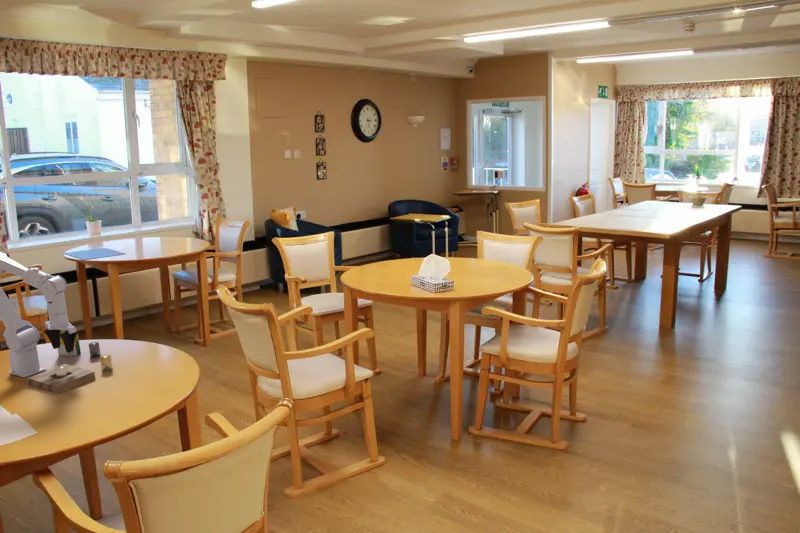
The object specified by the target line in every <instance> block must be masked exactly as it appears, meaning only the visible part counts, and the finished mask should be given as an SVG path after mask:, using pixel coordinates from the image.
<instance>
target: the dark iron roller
mask: <svg viewBox="0 0 800 533" xmlns="http://www.w3.org/2000/svg"><path fill="white" fill-rule="evenodd" d="M88 348H89V349H88V350H89V356H90V358H91V359H97V358H100V357H101V356H102V355H101V354H102V353H101V348H100V342H98V341H92V342H89V343H88Z"/></svg>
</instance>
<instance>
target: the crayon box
mask: <svg viewBox="0 0 800 533" xmlns="http://www.w3.org/2000/svg"><path fill="white" fill-rule="evenodd" d="M75 330H76V331H78V328H75ZM62 333H65V331H62V330H61V332H60V334H62ZM57 352H58V356H59V357H62V356H78V355H80V354H81V353H82V352H81V346H80V338H79V333H78V334H77V336H76V338H75V342H74V349H73V351H71V352H69V353H67V352H66V349H65V345H64V342H63V340H62V338H61V337H60V347H59V348H57Z"/></svg>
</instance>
